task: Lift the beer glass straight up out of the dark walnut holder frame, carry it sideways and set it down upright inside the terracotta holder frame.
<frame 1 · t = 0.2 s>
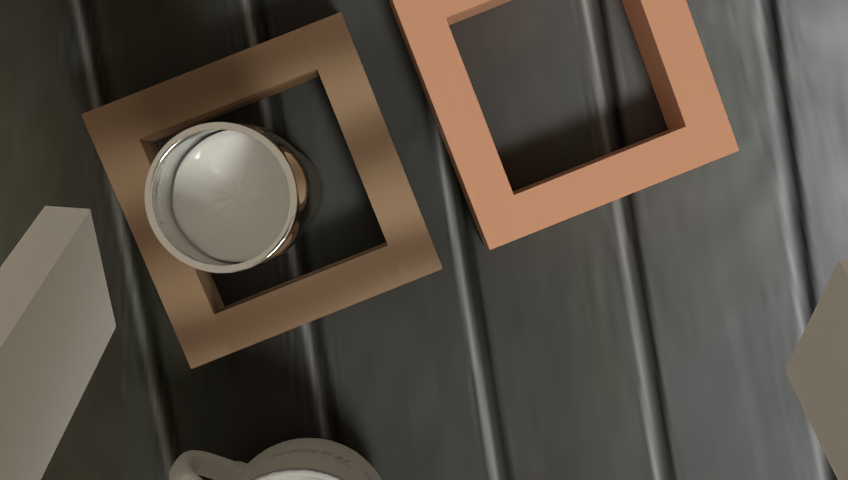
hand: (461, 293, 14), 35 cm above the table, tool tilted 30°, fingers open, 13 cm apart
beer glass: (273, 191, 49), resting in walnut holder
walnut holder: (272, 192, 49), on the table
terracotta holder: (556, 79, 49), on the table
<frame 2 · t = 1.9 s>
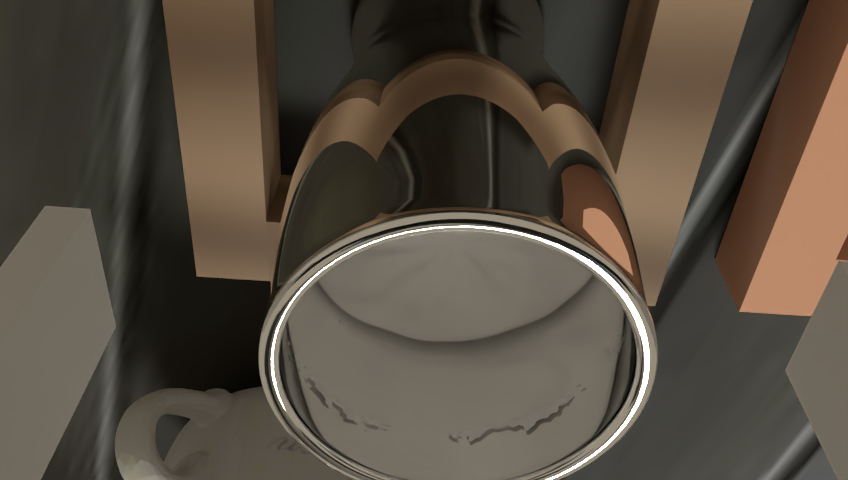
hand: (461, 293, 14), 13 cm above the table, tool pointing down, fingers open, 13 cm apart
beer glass: (447, 36, 25), resting in walnut holder
walnut holder: (447, 38, 25), on the table
teacup: (280, 406, 36), on the table
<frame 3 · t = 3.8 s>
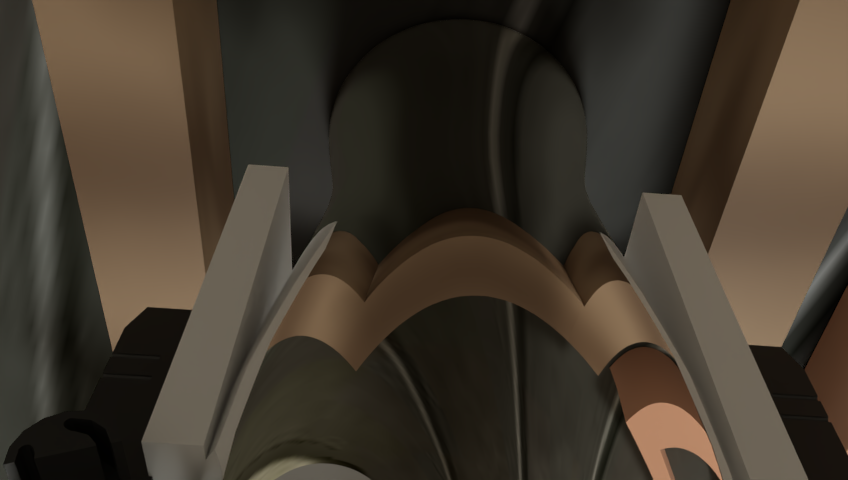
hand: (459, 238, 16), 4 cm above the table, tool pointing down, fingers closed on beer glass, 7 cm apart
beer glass: (457, 135, 19), resting in walnut holder, touching gripper
walnut holder: (456, 139, 19), on the table
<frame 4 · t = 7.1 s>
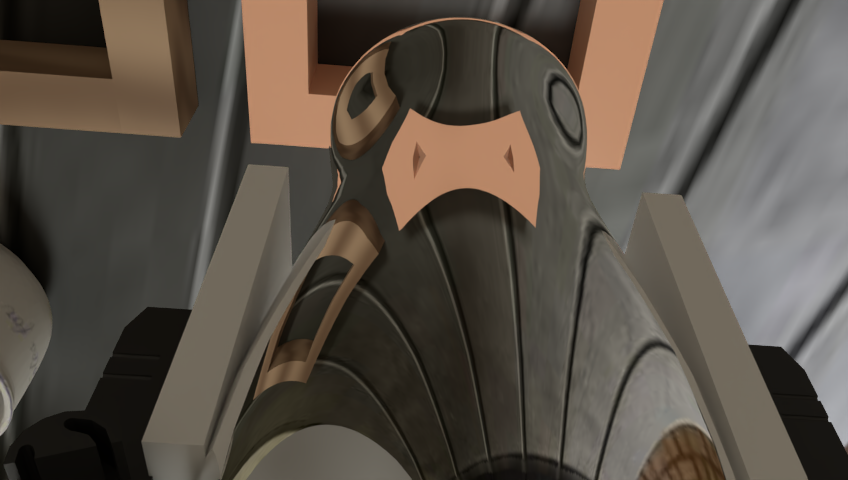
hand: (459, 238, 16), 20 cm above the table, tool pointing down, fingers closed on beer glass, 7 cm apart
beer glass: (457, 133, 19), point 16 cm above the table, touching gripper
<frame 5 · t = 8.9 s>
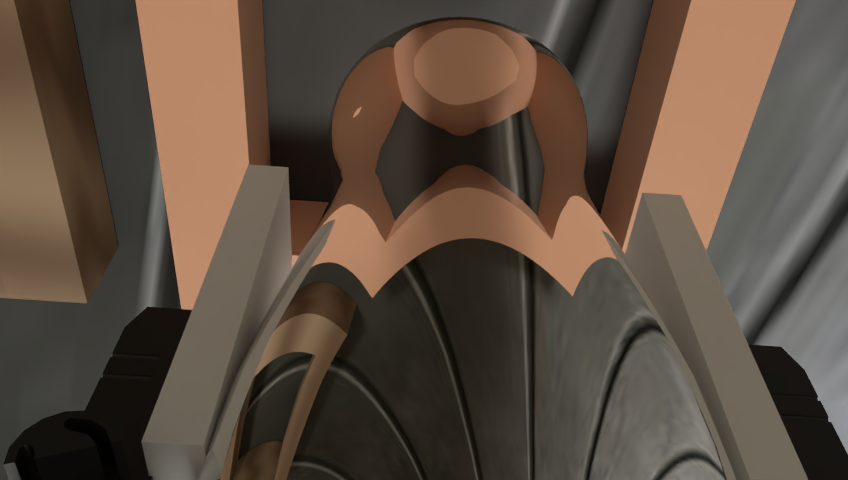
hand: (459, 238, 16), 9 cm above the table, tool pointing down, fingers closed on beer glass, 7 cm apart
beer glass: (457, 133, 19), point 5 cm above the table, touching gripper
terracotta holder: (451, 55, 23), on the table
when the fingers open (5 cm above the table, at t = 10.5 s): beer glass drops 1 cm, resting in terracotta holder.
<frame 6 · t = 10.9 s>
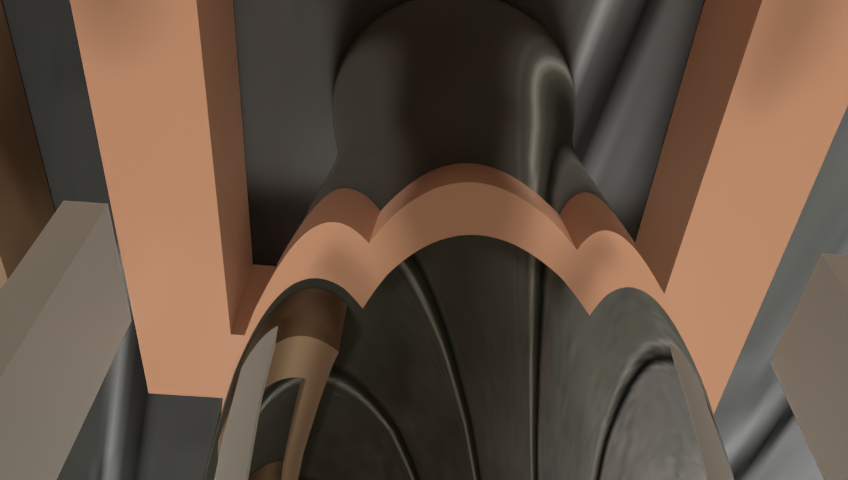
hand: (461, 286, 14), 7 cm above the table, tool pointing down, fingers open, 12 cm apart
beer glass: (452, 104, 20), resting in terracotta holder
terracotta holder: (456, 110, 20), on the table
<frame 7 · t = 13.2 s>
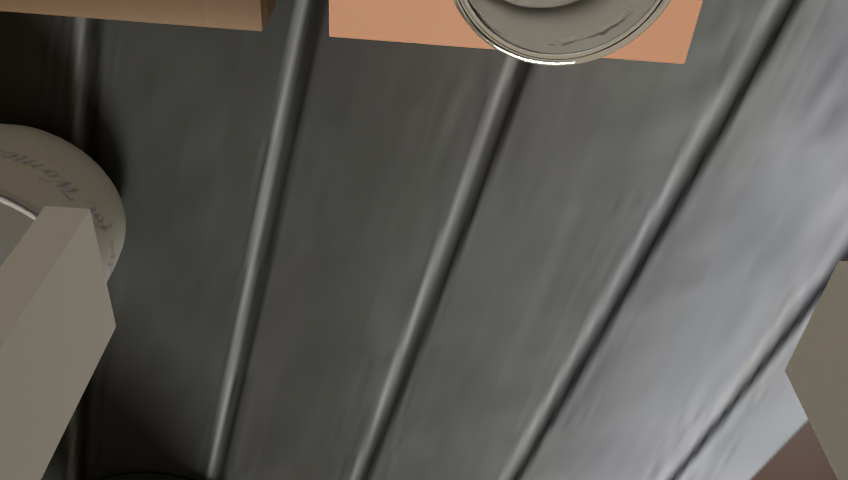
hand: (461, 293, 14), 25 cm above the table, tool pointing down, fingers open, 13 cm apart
teacup: (31, 160, 43), on the table
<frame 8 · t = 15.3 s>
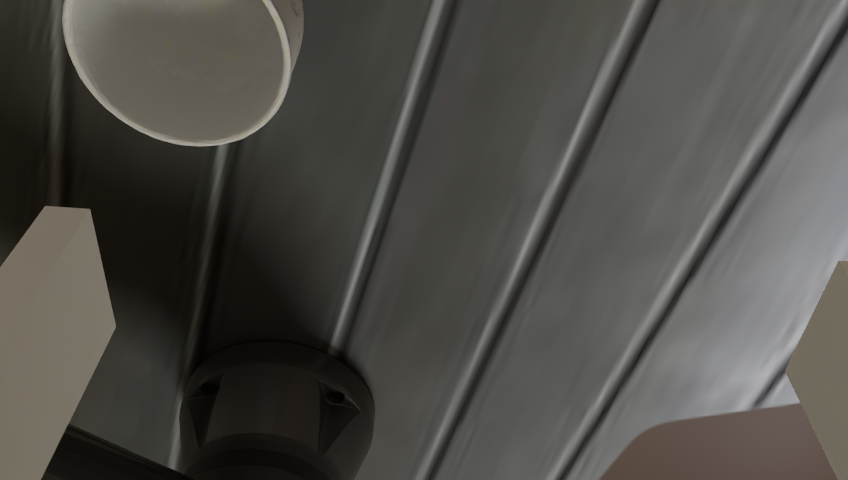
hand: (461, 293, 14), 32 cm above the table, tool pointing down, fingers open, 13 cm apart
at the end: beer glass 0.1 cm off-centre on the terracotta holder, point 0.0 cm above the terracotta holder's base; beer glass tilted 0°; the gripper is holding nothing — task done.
